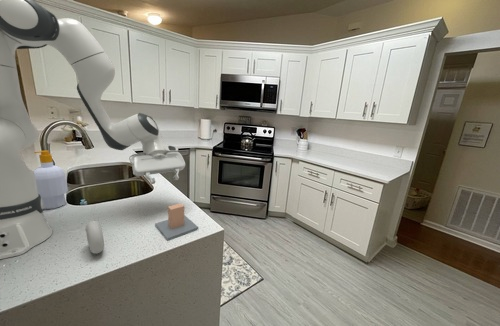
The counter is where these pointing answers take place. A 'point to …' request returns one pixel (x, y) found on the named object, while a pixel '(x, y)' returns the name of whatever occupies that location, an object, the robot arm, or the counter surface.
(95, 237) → the donut
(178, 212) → the block
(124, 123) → the robot arm
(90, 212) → the counter surface
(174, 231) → the coaster
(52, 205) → the soap bottle
